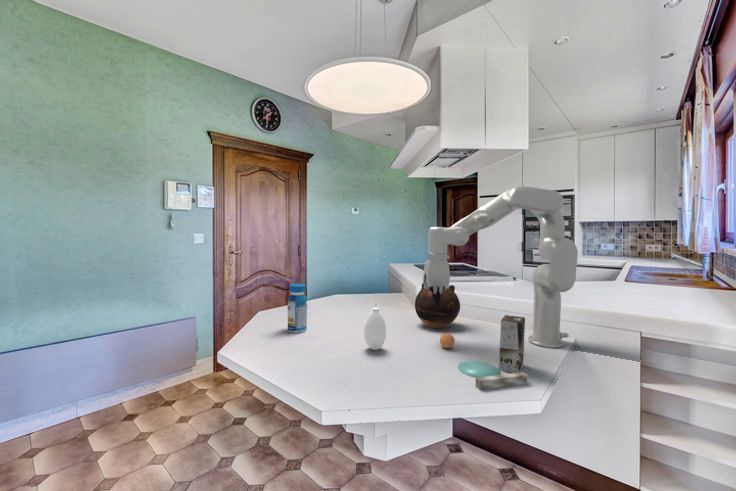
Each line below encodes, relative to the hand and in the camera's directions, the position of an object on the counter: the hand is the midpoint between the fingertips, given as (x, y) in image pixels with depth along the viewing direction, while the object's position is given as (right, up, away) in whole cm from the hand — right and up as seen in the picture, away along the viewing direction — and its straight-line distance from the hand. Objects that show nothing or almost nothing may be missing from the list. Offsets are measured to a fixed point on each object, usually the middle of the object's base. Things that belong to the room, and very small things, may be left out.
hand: (436, 303), depth 133 cm
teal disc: (+8, -16, -28) cm, 33 cm away
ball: (+2, -13, -9) cm, 16 cm away
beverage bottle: (-58, -14, +10) cm, 61 cm away
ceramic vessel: (+4, -15, +20) cm, 25 cm away
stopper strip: (+11, -17, -38) cm, 43 cm away
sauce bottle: (-25, -15, -11) cm, 31 cm away
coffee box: (+19, -17, -25) cm, 36 cm away
